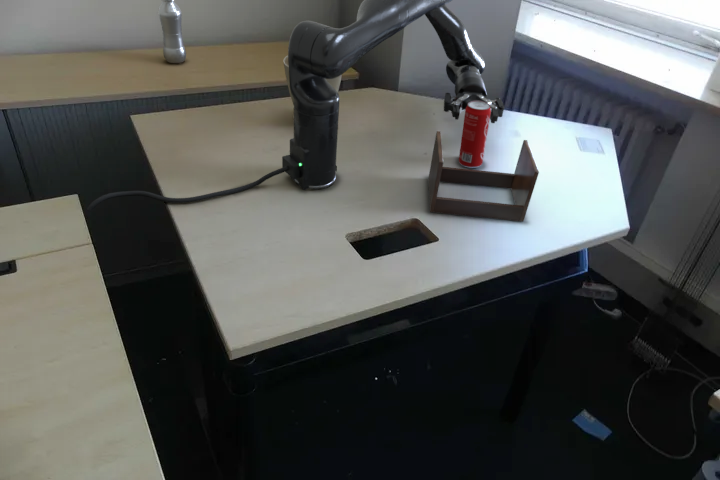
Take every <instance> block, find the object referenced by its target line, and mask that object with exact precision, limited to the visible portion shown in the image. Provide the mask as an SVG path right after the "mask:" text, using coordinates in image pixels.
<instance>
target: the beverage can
mask: <svg viewBox="0 0 720 480" xmlns="http://www.w3.org/2000/svg"><path fill="white" fill-rule="evenodd" d="M490 114H491V108H490V104H488V103H487V102H484V101H471V102H469V103H468V105H467V107H466V109H465V111H464V117H463V123H462V132H461V138H460V139H461V140H460V145H459V146H460V148H459V154H458V163H459V164H460V165H461V166H462V167H465V168H467V169H476V168H479V167H481V166H482V165H483V163H484V157H485V151H486V146H487V145H486V144H487V138H488V132H489V127H490V126H489V125H490V122H491V120H490Z"/></svg>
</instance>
